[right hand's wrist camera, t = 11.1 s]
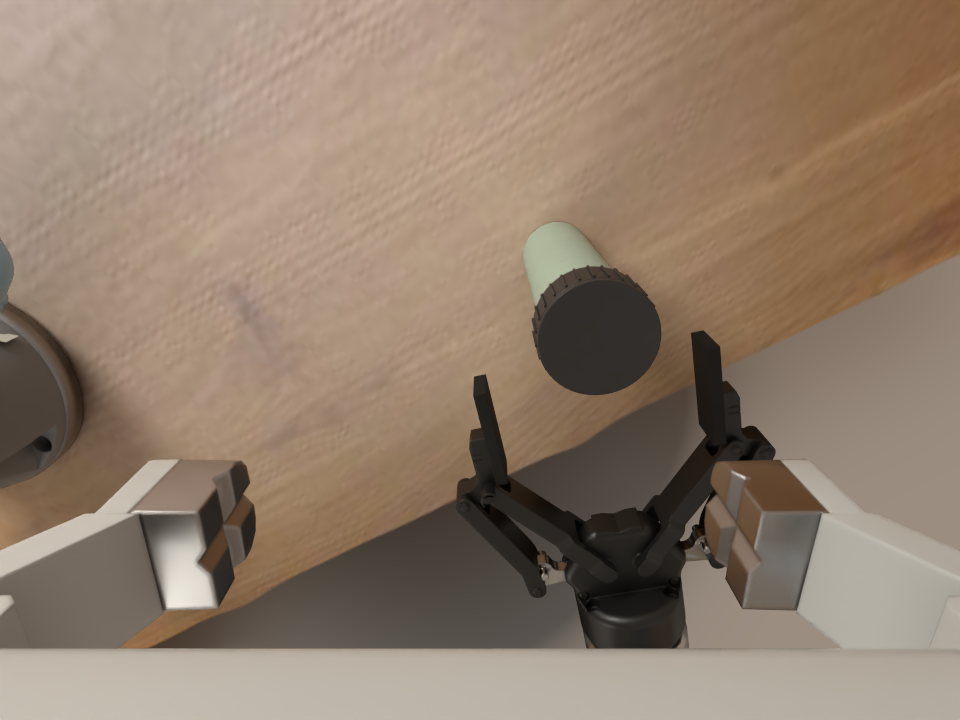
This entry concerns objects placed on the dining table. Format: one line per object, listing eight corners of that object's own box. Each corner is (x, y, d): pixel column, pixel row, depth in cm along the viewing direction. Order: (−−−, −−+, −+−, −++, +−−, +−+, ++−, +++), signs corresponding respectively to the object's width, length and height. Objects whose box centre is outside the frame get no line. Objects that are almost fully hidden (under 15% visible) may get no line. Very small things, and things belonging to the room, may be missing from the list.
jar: (586, 286, 39) (643, 383, 25) (522, 286, 39) (543, 383, 25) (590, 221, 38) (655, 286, 23) (523, 221, 38) (547, 286, 23)
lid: (641, 374, 27) (655, 397, 25) (529, 374, 27) (533, 397, 25) (654, 264, 25) (670, 278, 23) (533, 264, 25) (537, 278, 23)
